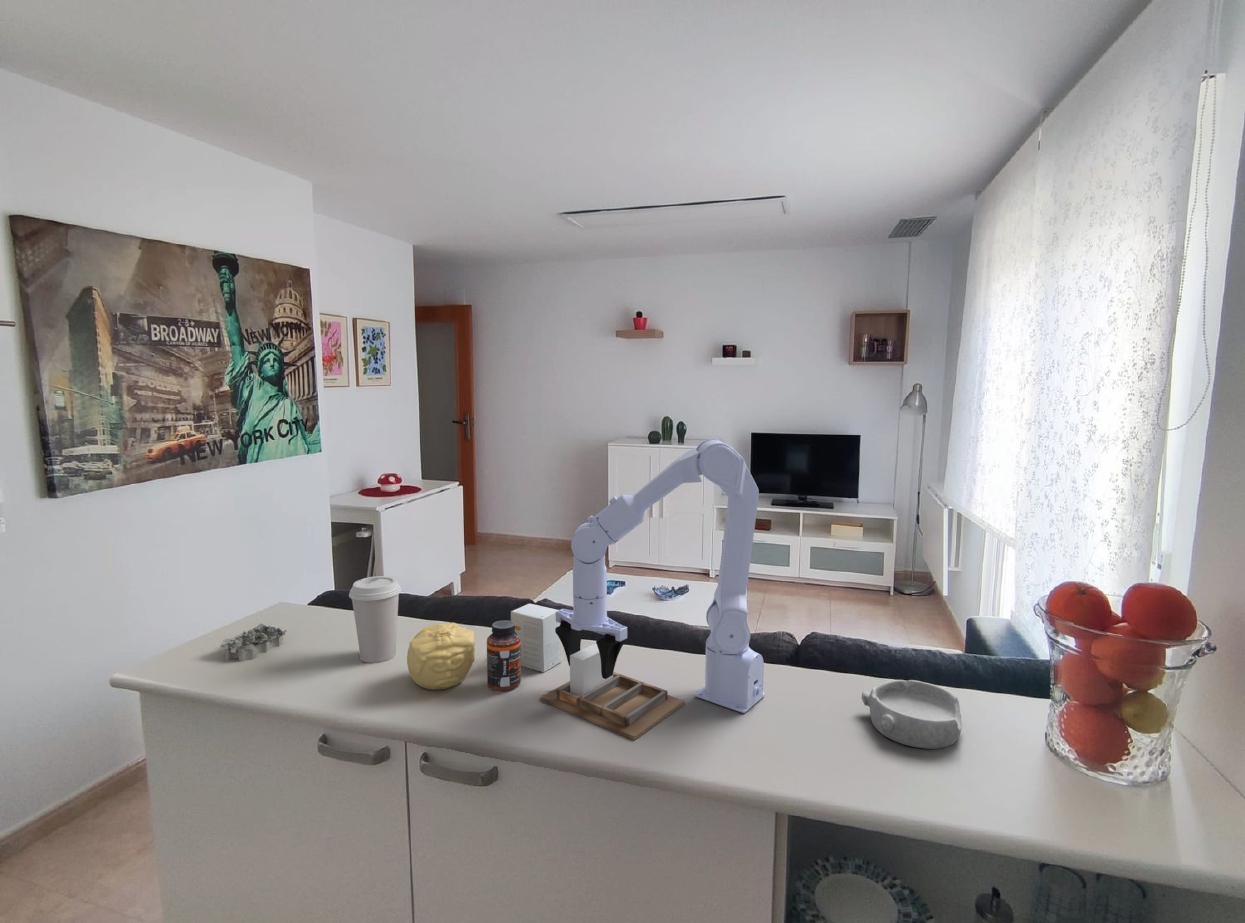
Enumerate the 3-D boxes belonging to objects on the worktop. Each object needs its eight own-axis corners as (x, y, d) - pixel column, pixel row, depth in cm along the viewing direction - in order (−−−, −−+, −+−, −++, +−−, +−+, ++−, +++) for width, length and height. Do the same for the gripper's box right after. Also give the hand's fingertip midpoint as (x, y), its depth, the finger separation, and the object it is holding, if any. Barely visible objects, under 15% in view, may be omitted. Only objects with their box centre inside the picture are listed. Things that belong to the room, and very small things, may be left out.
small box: (562, 662, 122) (561, 610, 121) (543, 673, 117) (542, 619, 116) (530, 653, 126) (529, 602, 125) (511, 663, 122) (510, 610, 120)
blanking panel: (613, 682, 112) (613, 644, 111) (583, 700, 106) (583, 660, 105) (600, 678, 114) (600, 640, 113) (570, 695, 108) (569, 655, 107)
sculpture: (415, 703, 106) (412, 641, 105) (402, 675, 117) (400, 618, 115) (482, 688, 112) (480, 629, 110) (464, 662, 122) (463, 608, 121)
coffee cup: (385, 642, 131) (382, 572, 130) (413, 653, 126) (411, 580, 124) (342, 658, 124) (338, 583, 122) (370, 670, 118) (366, 593, 116)
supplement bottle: (513, 694, 109) (512, 631, 108) (481, 691, 110) (480, 628, 109) (526, 679, 115) (525, 619, 114) (495, 676, 116) (493, 616, 115)
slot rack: (684, 704, 106) (684, 692, 106) (634, 740, 95) (634, 727, 95) (593, 671, 118) (593, 660, 118) (540, 700, 107) (539, 688, 107)
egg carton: (246, 664, 122) (244, 644, 121) (216, 659, 124) (215, 639, 123) (290, 643, 132) (289, 624, 131) (263, 638, 134) (261, 620, 133)
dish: (949, 711, 104) (951, 682, 104) (978, 758, 91) (980, 726, 90) (857, 701, 107) (858, 673, 107) (871, 747, 94) (873, 715, 93)
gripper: (542, 591, 109) (544, 667, 110) (608, 609, 100) (608, 691, 101) (570, 581, 114) (571, 653, 116) (634, 597, 105) (634, 675, 107)
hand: (590, 670), depth 109 cm, fingers open, 7 cm apart
